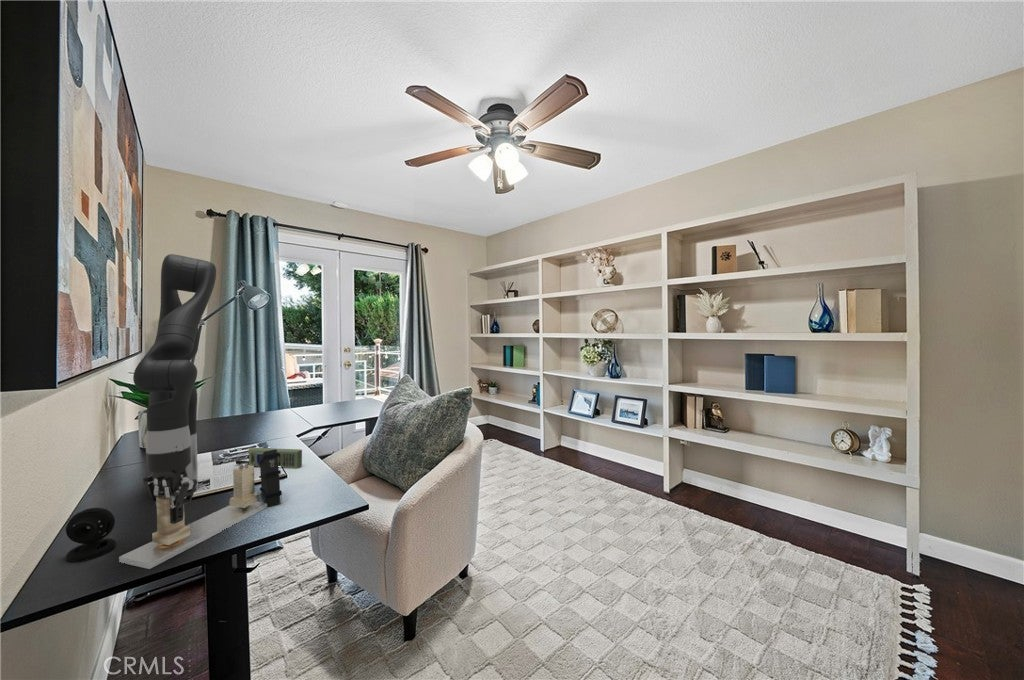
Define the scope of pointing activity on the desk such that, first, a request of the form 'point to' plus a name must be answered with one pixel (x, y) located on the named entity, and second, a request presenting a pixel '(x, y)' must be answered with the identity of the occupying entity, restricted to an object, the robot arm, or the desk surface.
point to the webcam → (90, 533)
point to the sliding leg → (168, 524)
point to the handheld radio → (285, 458)
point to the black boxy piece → (270, 477)
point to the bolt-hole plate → (204, 523)
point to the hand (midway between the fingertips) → (171, 520)
